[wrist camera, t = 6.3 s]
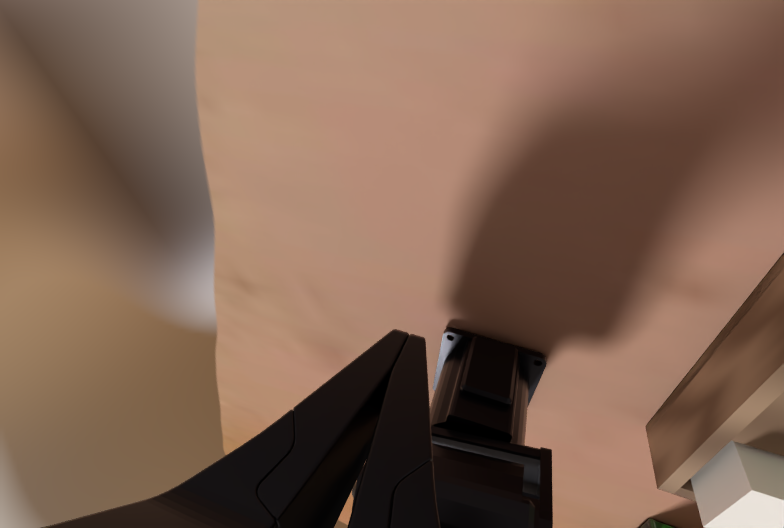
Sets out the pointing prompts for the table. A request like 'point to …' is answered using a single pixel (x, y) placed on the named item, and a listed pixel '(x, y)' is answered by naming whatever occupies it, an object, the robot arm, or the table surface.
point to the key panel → (726, 393)
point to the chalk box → (654, 524)
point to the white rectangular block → (741, 488)
